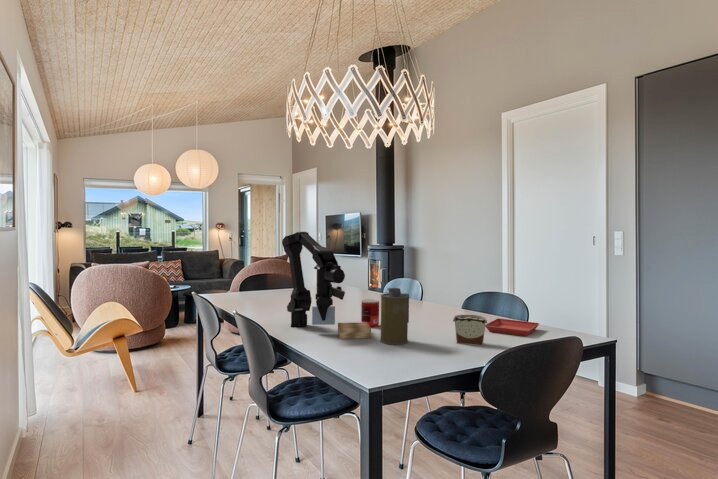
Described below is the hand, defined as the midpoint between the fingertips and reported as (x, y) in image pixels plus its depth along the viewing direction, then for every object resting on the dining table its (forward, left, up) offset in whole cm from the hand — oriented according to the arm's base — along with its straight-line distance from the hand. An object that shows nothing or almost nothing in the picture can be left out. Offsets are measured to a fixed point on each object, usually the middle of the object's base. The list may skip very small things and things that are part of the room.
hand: (323, 319), depth 189 cm
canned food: (+21, +14, -6) cm, 26 cm away
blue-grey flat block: (0, 0, -2) cm, 2 cm away
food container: (+54, -20, -6) cm, 58 cm away
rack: (+12, -4, -5) cm, 14 cm away
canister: (+26, -16, -6) cm, 31 cm away
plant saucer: (+79, -1, -6) cm, 79 cm away
